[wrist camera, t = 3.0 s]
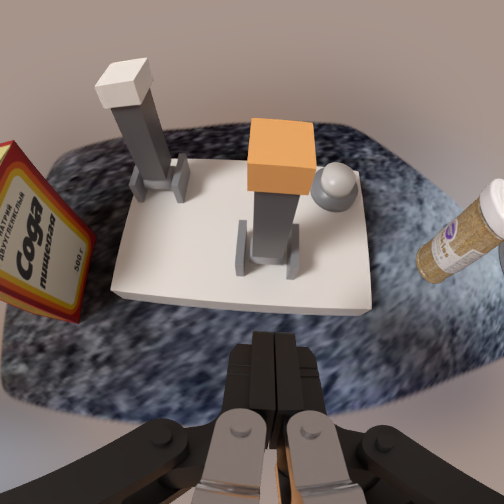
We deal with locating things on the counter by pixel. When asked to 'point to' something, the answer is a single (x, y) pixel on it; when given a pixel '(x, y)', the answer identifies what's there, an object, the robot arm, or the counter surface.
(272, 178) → the lever orange
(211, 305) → the switch panel
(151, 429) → the robot arm
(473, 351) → the counter surface
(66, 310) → the baking soda box
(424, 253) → the sprinkles bottle
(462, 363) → the counter surface
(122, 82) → the lever white
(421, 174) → the counter surface
